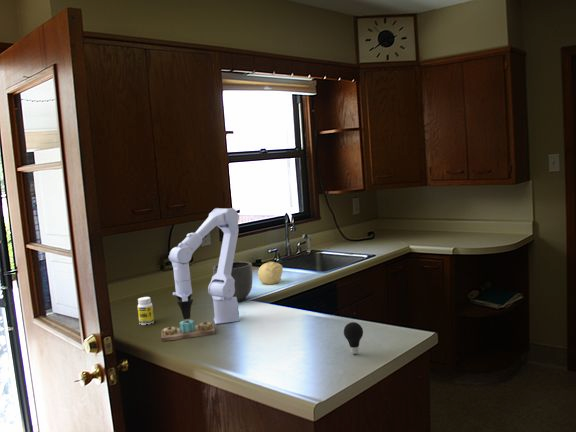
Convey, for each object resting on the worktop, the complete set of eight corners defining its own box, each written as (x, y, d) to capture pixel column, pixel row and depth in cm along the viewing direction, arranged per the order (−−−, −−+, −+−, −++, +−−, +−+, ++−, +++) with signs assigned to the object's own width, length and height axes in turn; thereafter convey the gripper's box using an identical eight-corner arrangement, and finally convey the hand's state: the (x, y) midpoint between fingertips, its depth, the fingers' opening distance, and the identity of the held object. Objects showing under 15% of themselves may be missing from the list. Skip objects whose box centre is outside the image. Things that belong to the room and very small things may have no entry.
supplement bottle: (139, 326, 217) (136, 300, 216) (139, 322, 222) (136, 297, 221) (154, 323, 218) (151, 298, 217) (154, 320, 224) (151, 295, 223)
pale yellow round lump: (275, 286, 265) (273, 264, 264) (254, 285, 272) (252, 263, 270) (287, 280, 275) (285, 259, 274) (266, 279, 281) (265, 259, 280)
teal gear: (194, 327, 205) (193, 318, 205) (195, 331, 200) (194, 322, 200) (179, 329, 204) (179, 320, 204) (180, 333, 199) (179, 325, 198)
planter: (210, 306, 238) (206, 270, 237) (224, 295, 255) (220, 261, 253) (247, 305, 234) (244, 268, 233) (259, 295, 251) (256, 260, 249)
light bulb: (362, 350, 171) (360, 319, 169) (366, 357, 165) (363, 324, 164) (344, 351, 170) (341, 320, 169) (346, 358, 165) (344, 326, 163)
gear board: (212, 325, 209) (211, 313, 208) (215, 333, 199) (213, 320, 199) (161, 333, 205) (160, 320, 204) (161, 341, 195) (160, 328, 195)
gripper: (171, 277, 206) (175, 312, 208) (171, 285, 192) (175, 323, 194) (190, 274, 208) (193, 309, 209) (192, 282, 194) (196, 320, 195)
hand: (186, 315), depth 201 cm, fingers open, 7 cm apart
